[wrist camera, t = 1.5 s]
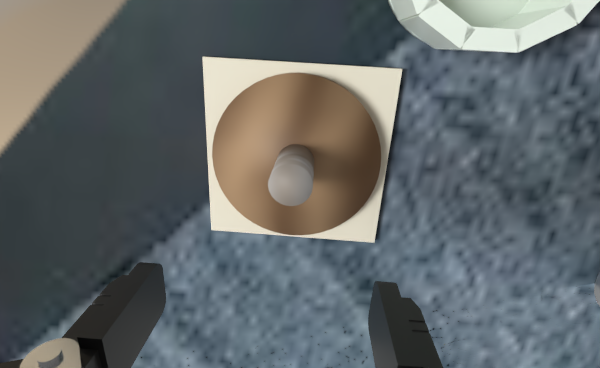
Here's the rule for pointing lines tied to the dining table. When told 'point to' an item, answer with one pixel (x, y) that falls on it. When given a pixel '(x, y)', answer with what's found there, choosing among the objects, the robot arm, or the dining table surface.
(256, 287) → the dining table surface
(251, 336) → the dining table surface
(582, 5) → the bowl
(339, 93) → the lid
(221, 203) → the mat
